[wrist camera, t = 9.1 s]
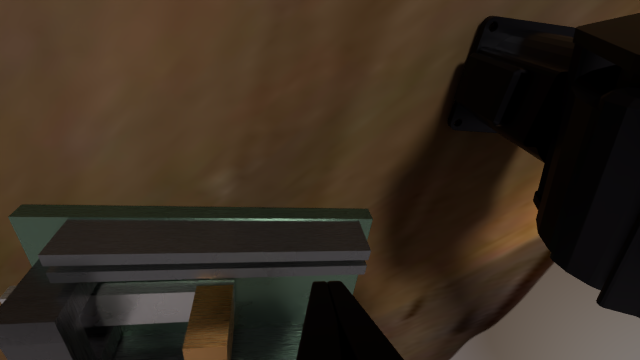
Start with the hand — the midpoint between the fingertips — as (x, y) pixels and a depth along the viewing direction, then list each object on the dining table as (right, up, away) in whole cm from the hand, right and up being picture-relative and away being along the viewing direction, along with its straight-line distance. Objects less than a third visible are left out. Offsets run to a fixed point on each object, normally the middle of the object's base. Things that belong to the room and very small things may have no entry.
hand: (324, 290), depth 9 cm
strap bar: (-13, -5, +13) cm, 20 cm away
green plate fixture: (-8, -5, +16) cm, 18 cm away
